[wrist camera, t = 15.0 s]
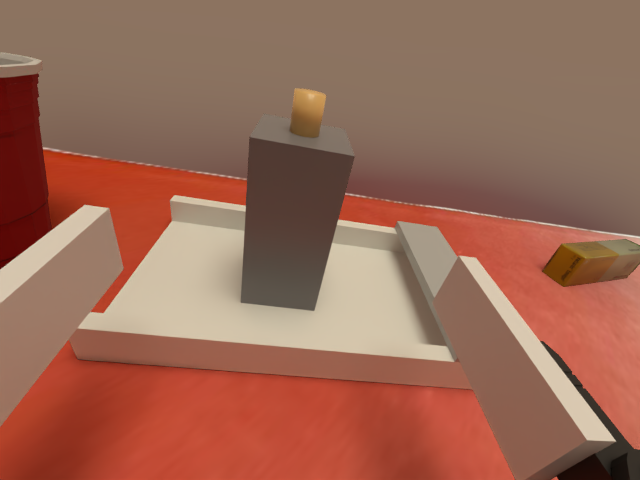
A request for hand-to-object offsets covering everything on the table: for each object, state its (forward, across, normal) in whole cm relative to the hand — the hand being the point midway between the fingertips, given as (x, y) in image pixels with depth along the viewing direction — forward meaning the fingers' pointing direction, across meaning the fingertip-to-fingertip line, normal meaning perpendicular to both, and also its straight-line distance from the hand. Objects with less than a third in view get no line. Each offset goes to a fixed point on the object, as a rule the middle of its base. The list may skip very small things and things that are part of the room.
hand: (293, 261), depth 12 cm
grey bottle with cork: (+7, 0, -8) cm, 11 cm away
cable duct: (+7, +2, -9) cm, 11 cm away
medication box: (+15, +34, -9) cm, 38 cm away
